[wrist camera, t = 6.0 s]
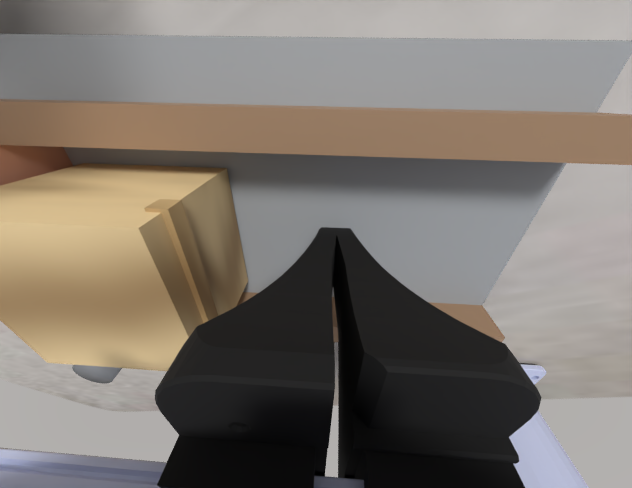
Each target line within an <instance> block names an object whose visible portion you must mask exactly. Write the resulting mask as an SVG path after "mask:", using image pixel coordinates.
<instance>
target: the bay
mask: <svg viewBox="0 0 632 488" xmlns="http://www.w3.org/2000/svg"><path fill="white" fill-rule="evenodd" d="M631 54H632V41H622V40H531V39H439V38H347V37H256V36H164V35H72V34H0V186H1V185H5V184H8V183H12V182H16V181H19V180H23V179H27V178H31V177H34V176H38V175H42V174H45V173H49V172H53V171H57V170H60V169H64V168H68V167H72V166H75V165H79V164H83V163H93V164H122V165H151V166H180V167H210V168H227V172H228V177H229V182H230V188H231V193H232V198H233V203H234V209H235V214H236V219H237V224H238V230H239V235H240V240H241V245H242V251H243V256H244V261H245V266H246V272H247V277H248V282H247V284H246V286H245V289H244V291H243V293H242V295H241V297H240V300H239V302H238V304H237V306H238V305H240V304H241V303H243V302H245V301H247V300H248V299H250V298H252V297H253V296H255V295H256V294H258V293H259V292H261V291H262V290H264V289H265V288H266V287H268V286H269V285H270V284H272V283H273V282H274V281H275V280H277V279H278V278H279V277H280V276H281V275H283V274H284V273H285V272H286V271H287V270H288V269H289V268H290V267H291V266H292V265H293V264H294V263H295V262H296V261H297V260H298V259H299V257H300V256H301V255H302V254H303V253H304V252H305V250H306V249H307V248H308V246H309V245H310V244H311V242H312V241H313V239H314V238H315V236H316V235H317V233H318V231H319V229H320V228H321V227H330V228H350V229H351V230H352V231H353V232H354V234H355V235H356V237H357V238H358V239H359V241H360V242H361V243H362V245H363V246H364V247H365V249H366V250H367V251H368V252H369V253H370V254H371V256H372V257H373V258H374V259H375V260H376V261H377V262H378V263H379V264H380V265H381V266H382V267H383V268H384V269H385V270H386V271H387V272H388V273H389V274H391V275H392V276H393V277H394V278H395V279H397V280H398V281H399V282H400V283H401V284H403V285H404V286H405V287H407V288H408V289H409V290H411V291H412V292H414V293H415V294H417V295H418V296H419V297H421V298H422V299H424V300H425V301H427V302H428V303H430V304H432V305H433V306H435V307H436V308H438V309H440V310H441V311H443V312H445V313H447V314H448V315H450V316H452V317H453V318H455V319H457V320H459V321H460V322H462V323H464V324H466V325H468V326H470V327H472V328H474V329H476V330H478V331H480V332H482V333H484V334H486V335H488V336H490V337H492V338H494V339H496V340H498V341H500V342H502V341H503V340H504V338H505V337H504V335H503V334H502V333H501V331H500V330H499V328H498V327H497V326H496V324H495V323H494V321H493V320H492V319H491V317H490V316H489V314H488V313H487V312H486V310H485V309H484V308H483V306H482V304H483V303H484V301H485V299H486V298H487V296H488V294H489V293H490V291H491V289H492V288H493V286H494V284H495V283H496V281H497V279H498V278H499V276H500V274H501V272H502V271H503V269H504V267H505V266H506V264H507V262H508V261H509V259H510V257H511V256H512V254H513V252H514V251H515V249H516V247H517V246H518V244H519V242H520V241H521V239H522V237H523V235H524V234H525V232H526V230H527V229H528V227H529V225H530V224H531V222H532V220H533V219H534V217H535V215H536V214H537V212H538V210H539V209H540V207H541V205H542V203H543V202H544V200H545V198H546V197H547V195H548V193H549V192H550V190H551V188H552V187H553V185H554V183H555V182H556V180H557V178H558V177H559V175H560V173H561V172H562V170H563V168H564V166H565V165H566V163H587V164H619V165H632V115H628V114H611V113H597V111H598V109H599V108H600V106H601V104H602V103H603V101H604V99H605V98H606V96H607V94H608V92H609V91H610V89H611V87H612V86H613V84H614V82H615V81H616V79H617V77H618V76H619V74H620V72H621V71H622V69H623V67H624V66H625V64H626V62H627V61H628V59H629V57H630V55H631ZM332 316H333V338H334V342H338V328H337V318H336V309H335V299H334V289H333V290H332ZM72 368H73V370H74V372H75V373H76V374H78V375H79V376H81V377H83V378H85V379H87V380H90V381H93V382H97V383H110V382H112V381H113V379H114V378H115V377H116V375H117V374H118V373H119V372H120V370H121V369H122V368H115V367H101V366H87V365H73V367H72Z"/></svg>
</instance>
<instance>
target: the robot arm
mask: <svg viewBox="0 0 632 488" xmlns="http://www.w3.org/2000/svg"><path fill="white" fill-rule="evenodd" d="M333 289H334V299H335V309H336V318H337V328H338V361H339V440H338V442H339V444H338V445H339V446H338V449H339V450H338V478H335V477H325V466H326V457H327V448H328V445H329V435H330V426H331V418H332V408H333V399H334V389H335V360H334V338H333V316H332V290H333ZM545 374H546V371H545V369H544V368H543V367H542V366H539V365H525V364H519V362H518V361H517V359H516V358H515V357H514V355H513V354H512V352H511V351H510V350H509V349H508V347H507V346H506V345H505V344H504V343H502V342H500V341H498V340H496V339H494V338H492V337H490V336H488V335H486V334H484V333H482V332H480V331H478V330H476V329H474V328H472V327H470V326H468V325H466V324H464V323H462V322H460V321H459V320H457V319H455V318H453V317H452V316H450V315H448V314H447V313H445V312H443V311H441V310H440V309H438V308H436V307H435V306H433V305H432V304H430V303H428V302H427V301H425V300H424V299H422V298H421V297H419V296H418V295H417V294H415V293H414V292H412V291H411V290H409V289H408V288H407V287H405V286H404V285H403V284H401V283H400V282H399V281H398V280H397V279H395V278H394V277H393V276H392V275H391V274H389V273H388V272H387V271H386V270H385V269H384V268H383V267H382V266H381V265H380V264H379V263H378V262H377V261H376V260H375V259H374V258H373V257H372V256H371V254H370V253H369V252H368V251H367V250H366V249H365V247H364V246H363V245H362V243H361V242H360V241H359V239H358V238H357V237H356V235H355V234H354V232H353V231H352V230H351V229H350V228H330V227H321V228H320V229H319V231H318V233H317V235H316V236H315V238H314V239H313V241H312V242H311V244H310V245H309V246H308V248H307V249H306V250H305V252H304V253H303V254H302V255H301V256H300V257H299V259H298V260H297V261H296V262H295V263H294V264H293V265H292V266H291V267H290V268H289V269H288V270H287V271H286V272H285V273H284V274H283V275H281V276H280V277H279V278H278V279H277V280H275V281H274V282H273V283H272V284H270V285H269V286H268V287H266V288H265V289H264V290H262V291H261V292H259V293H258V294H256V295H255V296H253V297H252V298H250V299H248V300H247V301H245V302H243V303H241V304H240V305H238V306H236V307H234V308H233V309H231V310H229V311H227V312H225V313H223V314H221V315H219V316H217V317H215V318H213V319H211V320H209V321H207V322H205V323H203V324H201V325H199V326H197V327H196V328H195V330H194V331H193V333H192V334H191V335H190V337H189V338H188V339H187V341H186V342H185V343H184V345H183V346H182V348H181V350H180V351H179V353H178V354H177V356H176V358H175V359H174V361H173V363H172V364H171V366H170V368H169V369H168V371H167V373H166V374H165V376H164V378H163V379H162V381H161V383H160V384H159V386H158V388H157V389H156V393H155V400H156V404H157V406H158V408H159V409H160V411H161V413H162V414H163V415H164V416H165V417H166V419H167V420H168V421H169V422H170V424H171V425H172V426H173V428H174V429H175V430H176V431H177V433H178V434H179V437H178V439H177V441H176V444H175V446H174V448H173V450H172V452H171V455H170V457H169V459H168V461H167V463H166V462H155V461H144V460H132V459H120V458H109V457H98V456H87V455H75V454H64V453H53V452H42V451H30V450H18V449H8V448H0V488H589V487H588V486H587V484H586V483H585V481H584V479H583V478H582V476H581V475H580V474H579V472H578V470H577V469H576V467H575V466H574V464H573V463H572V461H571V460H570V458H569V457H568V455H567V454H566V452H565V451H564V449H563V448H562V446H561V444H560V443H559V441H558V440H557V438H556V437H555V435H554V434H553V432H552V431H551V429H550V428H549V426H548V425H547V423H546V422H545V420H544V418H543V417H542V415H541V414H540V412H539V411H538V409H539V405H540V401H541V396H540V394H539V392H538V390H537V388H536V387H535V384H536V383H537V382H538V381H539V380H540V379H541V378H542V377H543V376H544V375H545Z"/></svg>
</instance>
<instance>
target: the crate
mask: <svg viewBox="0 0 632 488" xmlns="http://www.w3.org/2000/svg"><path fill="white" fill-rule="evenodd" d="M247 282H248V277H247V272H246V266H245V261H244V256H243V251H242V245H241V240H240V235H239V230H238V224H237V219H236V214H235V209H234V203H233V198H232V193H231V188H230V182H229V177H228V172H227V168H210V167H180V166H151V165H122V164H93V163H83V164H79V165H75V166H72V167H68V168H64V169H60V170H57V171H53V172H49V173H45V174H42V175H38V176H34V177H31V178H27V179H23V180H19V181H16V182H12V183H8V184H5V185H1V186H0V320H1V321H2V322H3V323H4V324H5V325H6V326H7V327H8V328H9V329H11V330H12V331H13V332H14V333H15V334H16V335H17V336H18V337H19V338H21V339H22V340H23V341H24V342H25V343H26V344H27V345H28V346H30V347H31V348H32V349H33V350H34V351H35V352H36V353H37V354H38V355H40V356H41V357H42V358H43V359H44V360H45V361H46V362H47V363H59V364H73V365H87V366H101V367H115V368H130V369H144V370H158V371H168V369H169V368H170V366H171V364H172V363H173V361H174V359H175V358H176V356H177V354H178V353H179V351H180V350H181V348H182V346H183V345H184V343H185V342H186V341H187V339H188V338H189V337H190V335H191V334H192V333H193V331H194V330H195V328H196V327H197V326H199V325H201V324H203V323H205V322H207V321H209V320H211V319H213V318H215V317H217V316H219V315H221V314H223V313H225V312H227V311H229V310H231V309H233V308H234V307H236V306H237V304H238V302H239V300H240V297H241V295H242V293H243V291H244V289H245V286H246V284H247Z"/></svg>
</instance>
